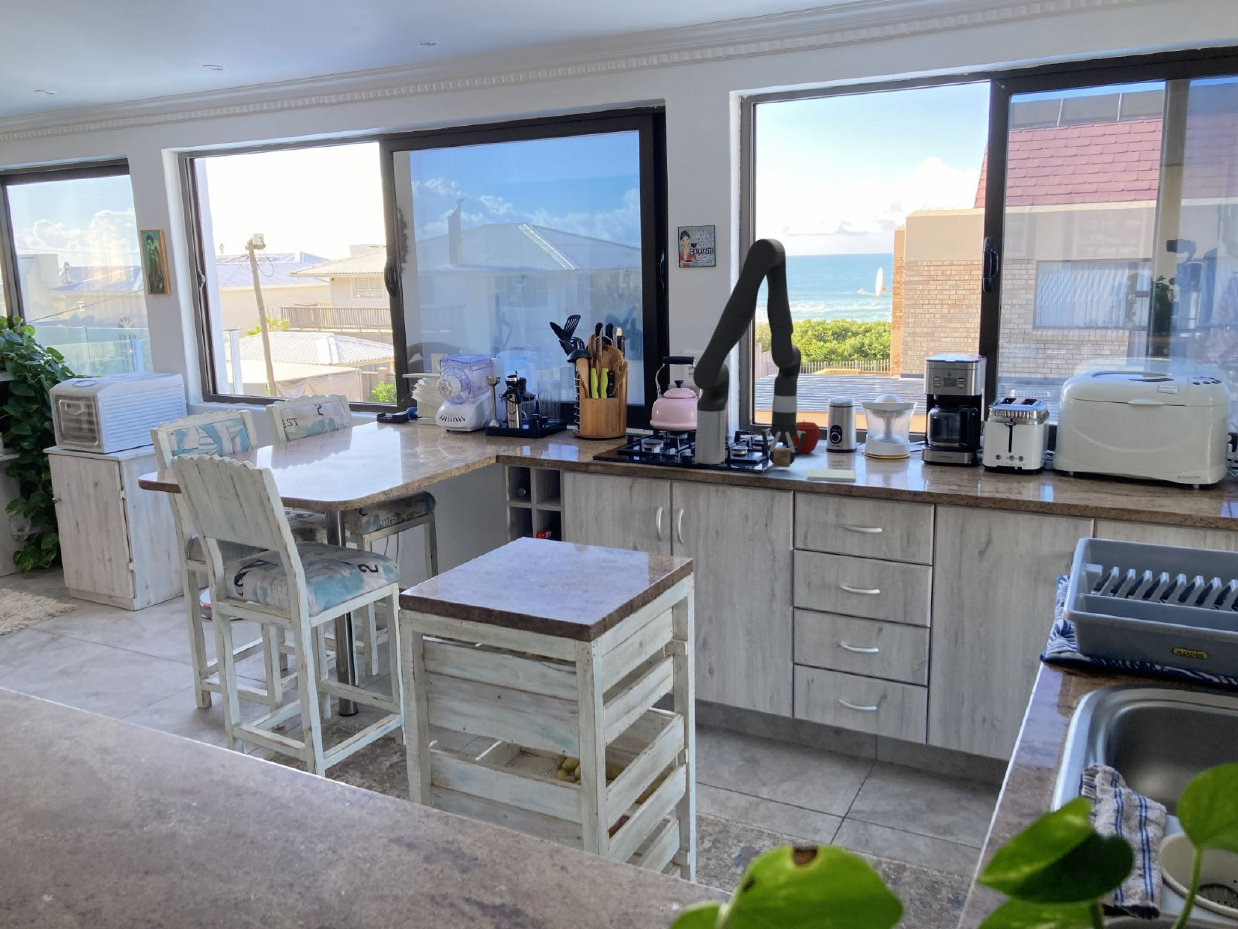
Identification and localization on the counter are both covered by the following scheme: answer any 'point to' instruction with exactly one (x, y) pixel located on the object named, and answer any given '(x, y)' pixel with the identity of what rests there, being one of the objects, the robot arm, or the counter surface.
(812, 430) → the apple
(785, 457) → the walnut cube
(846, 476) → the sage board
